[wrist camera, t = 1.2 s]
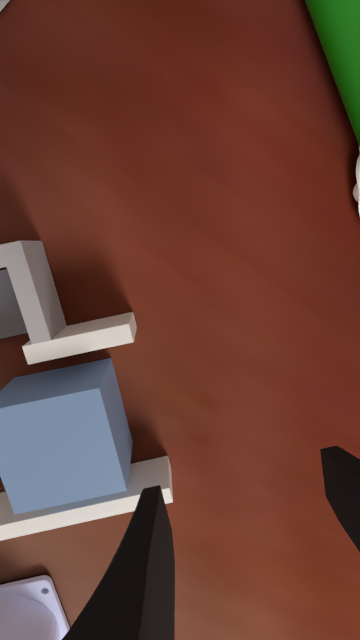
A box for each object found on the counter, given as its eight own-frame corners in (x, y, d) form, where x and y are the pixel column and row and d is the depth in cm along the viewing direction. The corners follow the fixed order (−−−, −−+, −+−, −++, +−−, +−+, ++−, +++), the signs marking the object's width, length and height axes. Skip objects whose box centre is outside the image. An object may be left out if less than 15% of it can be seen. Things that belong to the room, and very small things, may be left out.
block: (132, 441, 22) (127, 490, 18) (43, 459, 22) (14, 514, 17) (111, 357, 21) (99, 387, 16) (15, 376, 20) (-24, 413, 16)
